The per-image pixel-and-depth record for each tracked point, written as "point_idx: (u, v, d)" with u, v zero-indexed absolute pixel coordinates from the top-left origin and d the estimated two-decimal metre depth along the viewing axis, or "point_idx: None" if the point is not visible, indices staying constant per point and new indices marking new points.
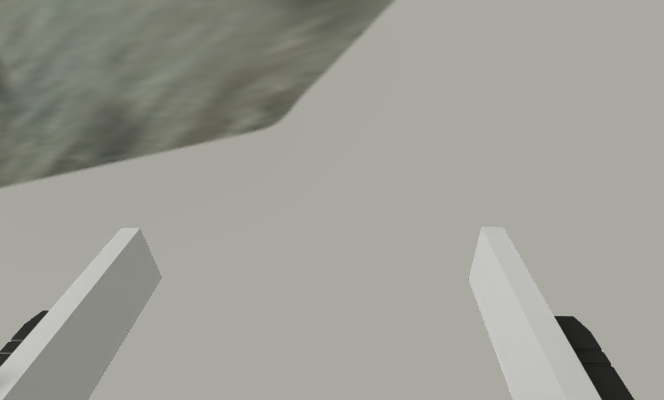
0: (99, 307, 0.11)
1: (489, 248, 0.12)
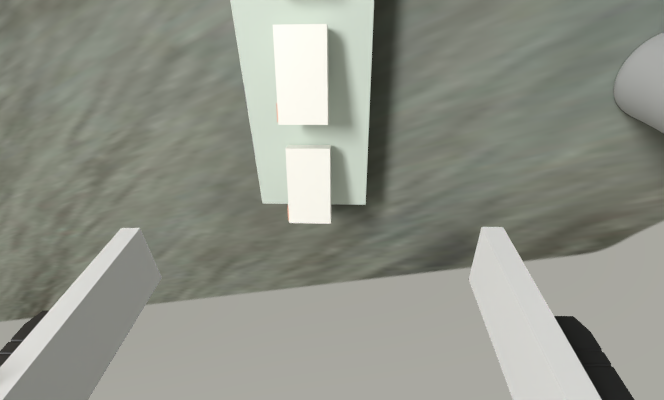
0: (99, 307, 0.11)
1: (489, 248, 0.12)
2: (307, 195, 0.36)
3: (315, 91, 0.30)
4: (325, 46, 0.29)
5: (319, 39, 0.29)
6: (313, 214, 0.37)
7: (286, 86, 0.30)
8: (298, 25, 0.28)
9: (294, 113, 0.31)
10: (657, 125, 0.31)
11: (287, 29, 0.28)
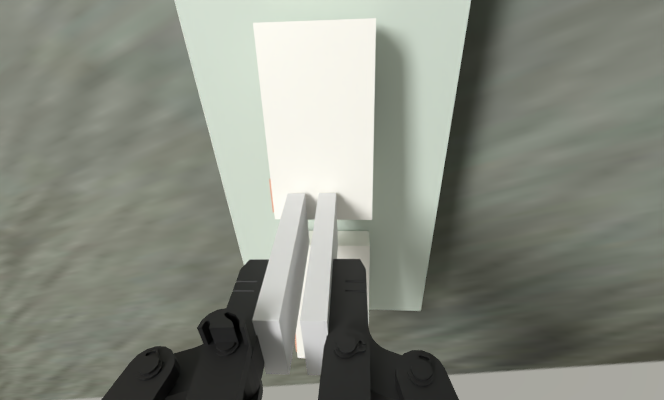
0: (297, 257, 0.13)
1: (317, 209, 0.14)
2: None
3: (348, 159, 0.15)
4: (371, 68, 0.13)
5: (358, 53, 0.13)
6: None
7: (287, 150, 0.15)
8: (311, 23, 0.12)
9: None
10: None
11: (286, 33, 0.13)
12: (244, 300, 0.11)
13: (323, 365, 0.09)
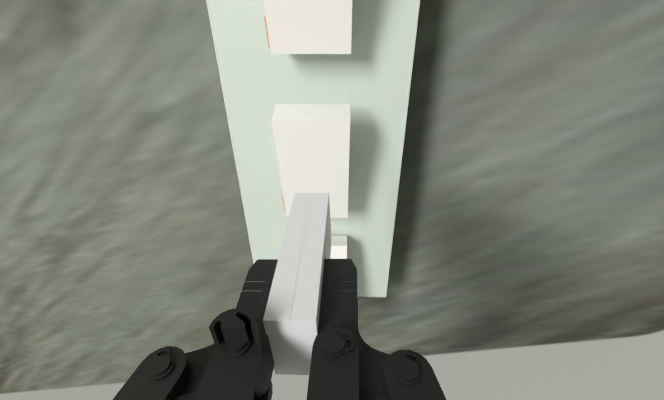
0: None
1: (309, 209, 0.14)
2: None
3: (332, 188, 0.23)
4: (347, 145, 0.21)
5: (339, 137, 0.20)
6: None
7: (294, 183, 0.23)
8: (309, 121, 0.20)
9: None
10: None
11: (293, 126, 0.20)
12: (253, 300, 0.11)
13: (312, 365, 0.09)
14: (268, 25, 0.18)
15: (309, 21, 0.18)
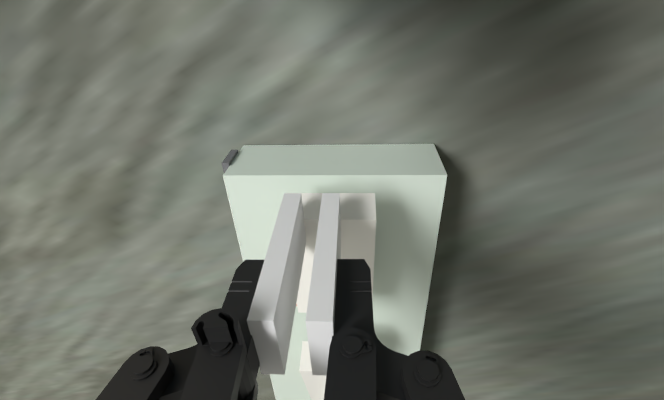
0: (293, 257, 0.13)
1: (321, 209, 0.14)
2: None
3: None
4: None
5: None
6: None
7: (319, 391, 0.25)
8: None
9: None
10: None
11: None
12: (239, 300, 0.11)
13: (329, 365, 0.09)
14: None
15: None
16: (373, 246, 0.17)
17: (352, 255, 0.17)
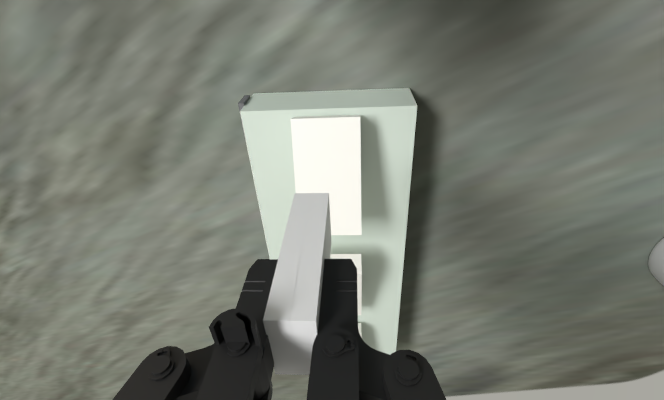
0: None
1: (309, 209, 0.14)
2: None
3: None
4: (360, 284, 0.28)
5: None
6: None
7: None
8: None
9: None
10: None
11: None
12: (253, 300, 0.11)
13: (312, 365, 0.09)
14: None
15: None
16: (359, 145, 0.22)
17: (344, 157, 0.23)
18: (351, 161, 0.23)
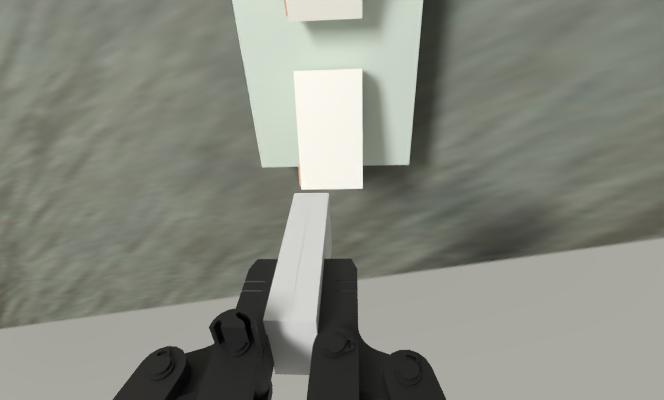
0: None
1: (309, 209, 0.14)
2: (327, 146, 0.24)
3: None
4: None
5: None
6: (336, 175, 0.25)
7: None
8: None
9: (311, 3, 0.20)
10: None
11: None
12: (253, 300, 0.11)
13: (312, 365, 0.09)
14: None
15: None
16: None
17: None
18: None
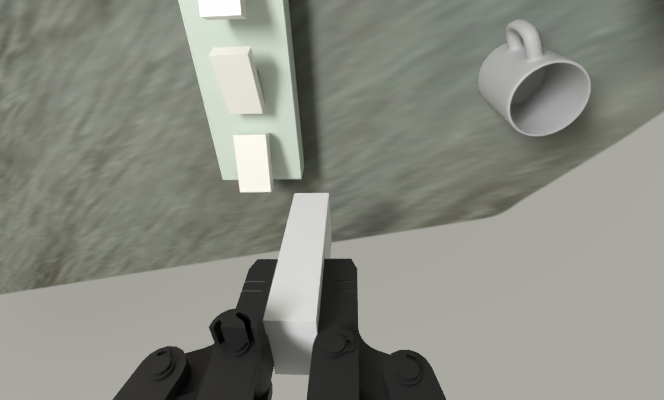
0: None
1: (309, 209, 0.14)
2: (251, 170, 0.48)
3: (249, 94, 0.43)
4: (250, 68, 0.40)
5: (244, 64, 0.40)
6: (257, 185, 0.49)
7: (228, 92, 0.43)
8: (227, 55, 0.39)
9: (238, 107, 0.45)
10: (497, 111, 0.43)
11: (220, 58, 0.39)
12: (253, 300, 0.11)
13: (312, 365, 0.09)
14: (199, 0, 0.37)
15: None
16: None
17: None
18: None
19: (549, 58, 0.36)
